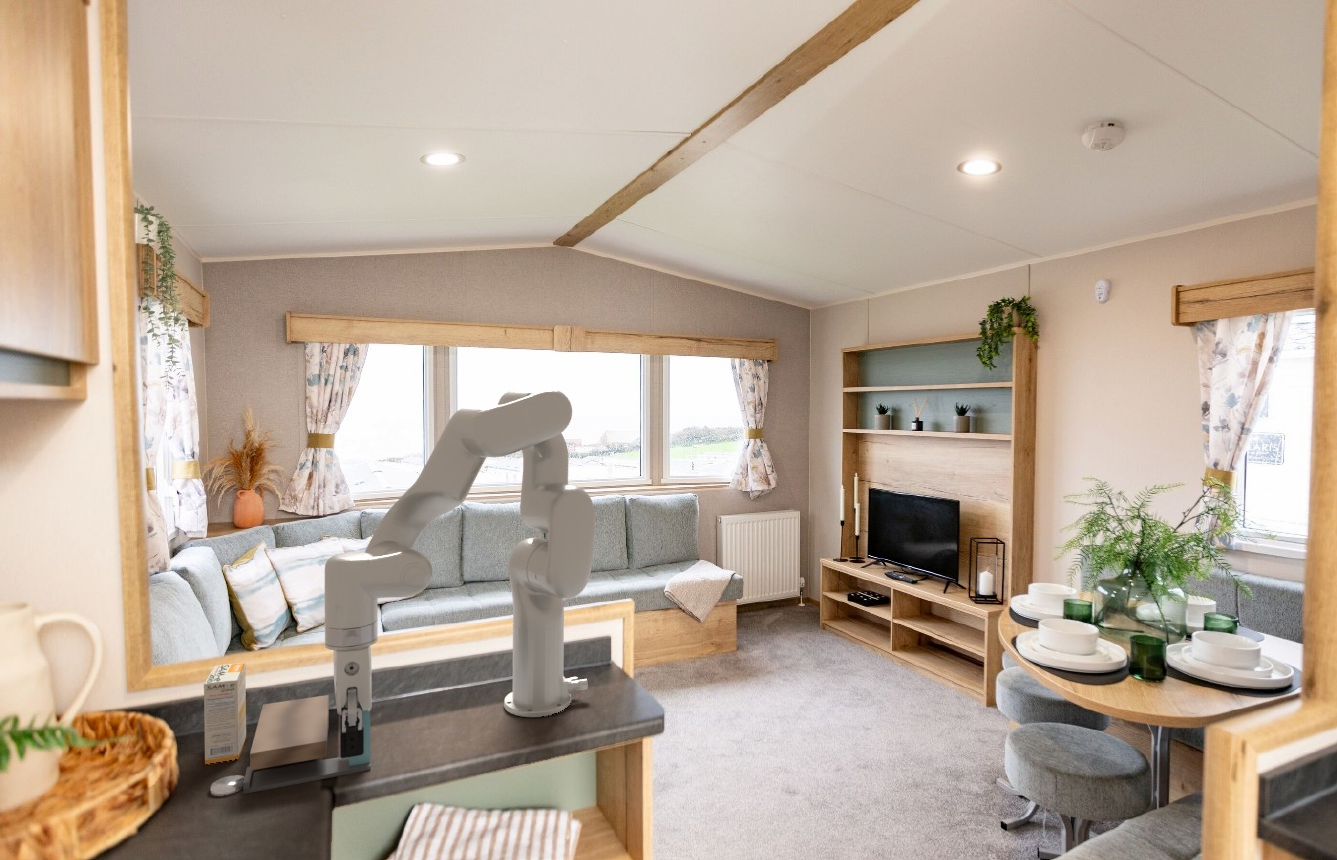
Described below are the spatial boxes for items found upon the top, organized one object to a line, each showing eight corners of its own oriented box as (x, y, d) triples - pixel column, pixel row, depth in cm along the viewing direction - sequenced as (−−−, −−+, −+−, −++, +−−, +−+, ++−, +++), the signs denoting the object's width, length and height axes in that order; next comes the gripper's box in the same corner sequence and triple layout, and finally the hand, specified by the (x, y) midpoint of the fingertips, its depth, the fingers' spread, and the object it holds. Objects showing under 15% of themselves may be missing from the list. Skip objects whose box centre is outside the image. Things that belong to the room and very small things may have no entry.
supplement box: (213, 743, 117) (212, 665, 117) (246, 738, 119) (246, 661, 119) (203, 766, 110) (202, 683, 109) (238, 760, 111) (238, 679, 111)
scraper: (369, 755, 114) (369, 696, 113) (370, 770, 109) (370, 709, 109) (247, 777, 106) (247, 714, 106) (243, 794, 102) (242, 728, 102)
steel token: (246, 779, 107) (246, 772, 107) (245, 793, 103) (245, 786, 103) (211, 786, 104) (211, 779, 104) (209, 801, 101) (209, 794, 101)
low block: (328, 727, 123) (328, 695, 123) (326, 778, 107) (326, 740, 106) (263, 737, 119) (262, 704, 119) (250, 792, 102) (249, 753, 102)
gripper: (380, 647, 103) (380, 762, 104) (375, 615, 119) (375, 715, 120) (323, 654, 100) (323, 773, 101) (325, 620, 116) (326, 723, 116)
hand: (351, 741), depth 110 cm, fingers open, 9 cm apart
